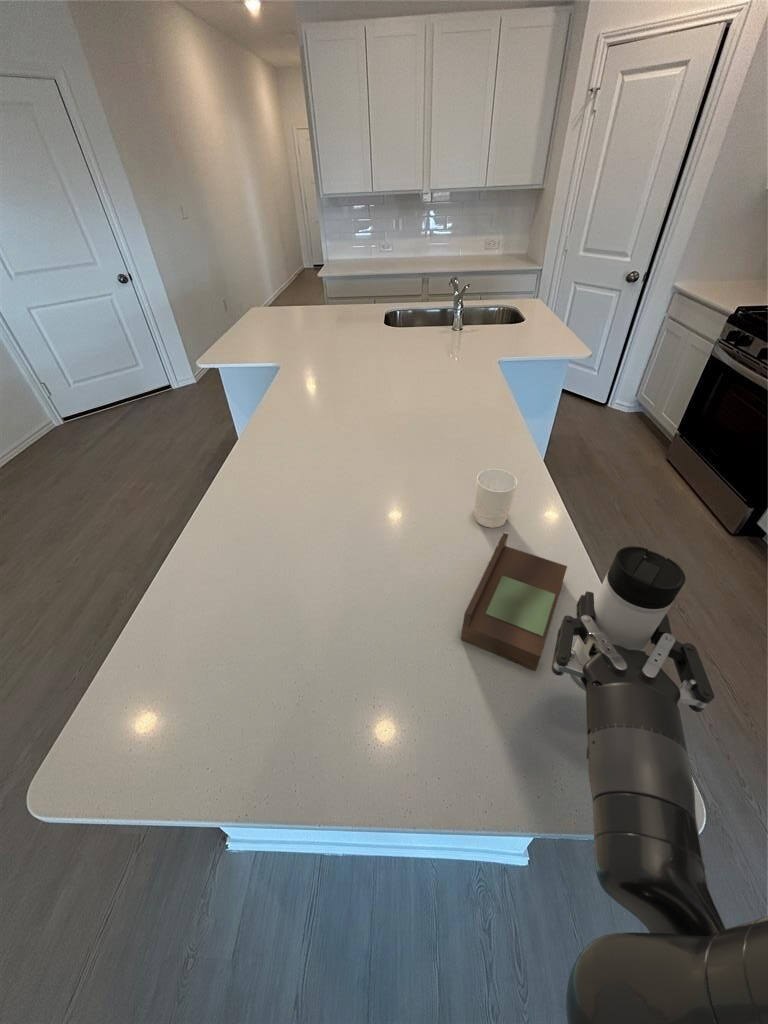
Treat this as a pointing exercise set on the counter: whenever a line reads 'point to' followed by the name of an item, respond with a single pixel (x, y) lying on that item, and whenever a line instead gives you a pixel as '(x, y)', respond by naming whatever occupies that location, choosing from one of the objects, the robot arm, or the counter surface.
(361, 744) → the counter surface
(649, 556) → the travel mug
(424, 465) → the counter surface
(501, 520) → the white cup
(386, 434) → the counter surface
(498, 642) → the wooden coaster base
